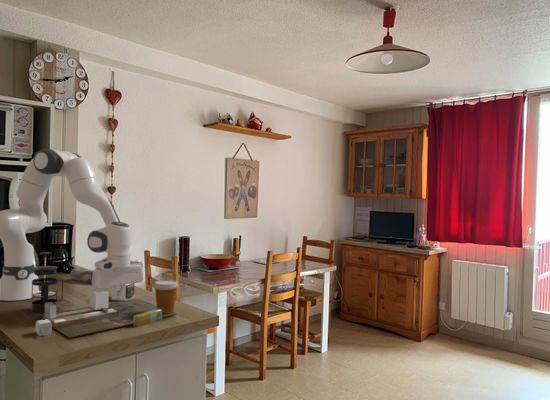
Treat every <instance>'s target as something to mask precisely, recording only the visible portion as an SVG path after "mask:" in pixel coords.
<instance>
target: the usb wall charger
mask: <svg viewBox="0 0 550 400" xmlns="http://www.w3.org/2000/svg"><path fill="white" fill-rule="evenodd" d="M52 331H53V326H52V323H51V322H50V321H49V320H48V319H45V320H43V319H39V320H36V321H35V332H36V334H37V335H38V336H39V337H43V336H47V335H51V334H52Z"/></svg>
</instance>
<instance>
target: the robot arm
mask: <svg viewBox="0 0 550 400" xmlns="http://www.w3.org/2000/svg"><path fill="white" fill-rule="evenodd" d="M54 177H66V179H67V182H68V186H69V188H70V192H71V193H72V196H73V198H74V199H75V201H77V202H78V203H80V204H83V205H86V206H88V207H90V208H93V209H94V210H96V211H97V212H98V213H99V214H100V216H101V218H102V220H103V222H104V225H105V226H104V227H101V228H98V229H95V230H93V231H90V232H89V234H88V235H87V241H86V242H87V247H88V248H89V250H90V251H91V252H92V253H97V254H98V253H99V254H101V253H107V255H106V256H107V257H105V258H103V259H101V260H98V261H96V262H94V267H95V268H94V270H93V275H92V283H91V286H92V287H93V288H95V289H102V288H103V289H104V288H109V287H110V289H111V291H112V290H113V292H114V296H115V297H116V296H122V292H123V290H124V289H125V284H132V283H134V284H137V283H142V282H143V280H144V272H143V267H144V266H143V265H144V264H143V261H140V260H138V259H136V260H131V250H130V249H131V245H132V233H131V232H132V231H131V227H130V225H129V224H127V223H126V222H123V221H121V220H120V218H119V215H118V214H117V211H116V209H115V207H114V205H113V204H112V201H111V199H110V198H109V197H108V195H107V194H106V193H105V192H104V191H103V188H102V187H101V185H100V182H99V181H98V178H97V175H96V172H95V171H94V167H93V166H92V164H91V163H90V161H89V160H88V159H87V158H85V157H82V156H81V155H79V154H78V153H74V152H70V151H67V150H61V149H60V150H59V149H51V148H46V149H45V148H43V149H40V150H38V151H37V152H36V153H35V154H34V157H33V158H32V159H31V160H30V161H29V163H28V165H27V166H26V167H25V170H24V172H23V174H22V176H21V178H20V181H19V183H18V185H17V186H18V187H17V190H16V192H15V195H16V197H17V199H18V200H19V201H20V204H19V207H18V208H16V209H15V208H14V209H13V208H12V209H11V208H10V209H9V208H8V209H4V210H0V240H1V243H2V246H3V251H4V252H3V255H4V261H3V263H4V265H3V266H2V276H1V277H0V301H5V302H6V301H7V302H10V301H23V300H28V299H29V300H30V299H33V298H32V280H34V279H39V275H37V274H36V273H35V271H34V270H32V268H34V267H35V265H36V264H35V263H34V261H35V257H34V256H35V255H34V254H35V248H34V246H33V244H32V243H29V242H28V240H27V237H26V234H30V233H35V232H39V231H41V230H43V229H44V228H45V227H46V226H47V222H48V217H47V214H46V213H45V212H44V202H45V199H46V196H47V193H48V191H49V188H50V186H51V183H52V180H53V178H54ZM117 285H120V287H121V288H120V290H119V291H116V289H115V288H117ZM38 292H41V290H39V286H35V285H33V294H34V293H38Z"/></svg>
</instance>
